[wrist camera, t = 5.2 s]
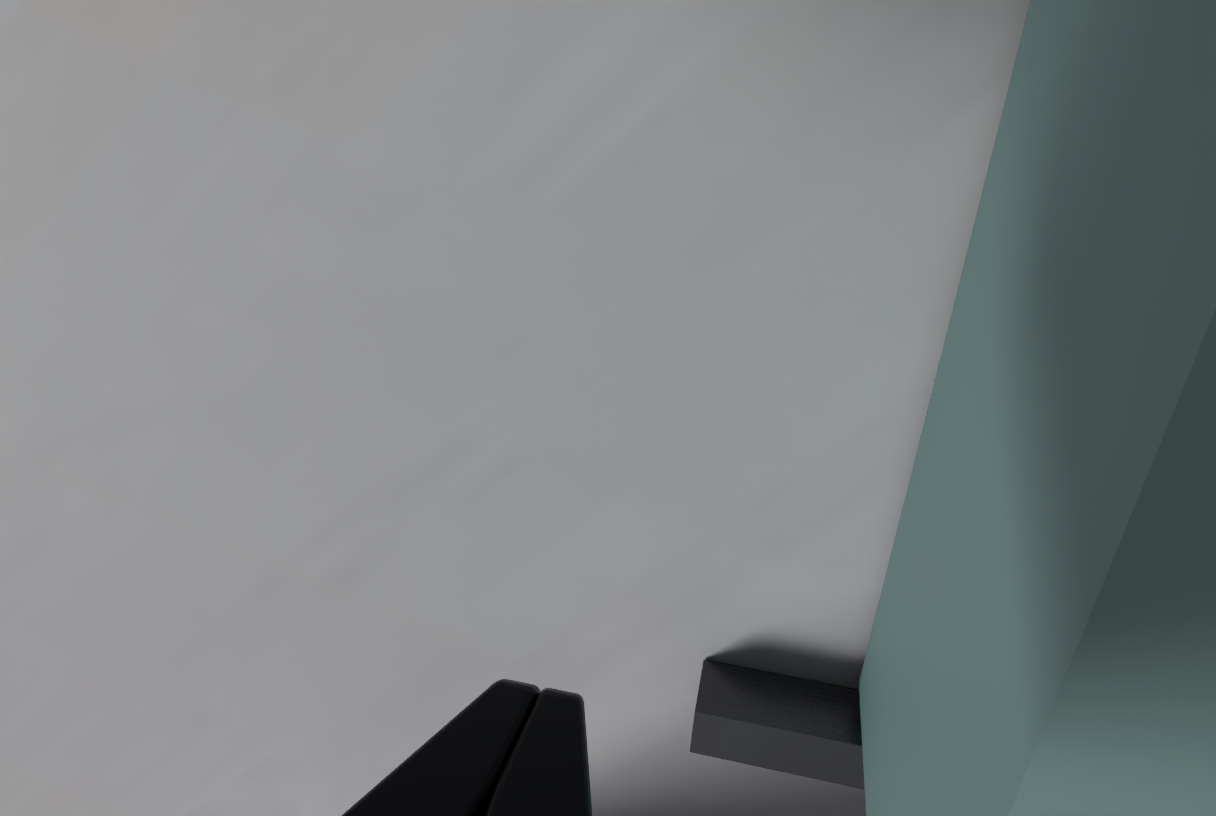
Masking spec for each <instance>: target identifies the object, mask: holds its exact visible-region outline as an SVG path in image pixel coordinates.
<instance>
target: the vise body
mask: <svg viewBox="0 0 1216 816" xmlns="http://www.w3.org/2000/svg"><path fill="white" fill-rule="evenodd" d="M690 752H693V753H698V754H702V755H707V756H712V757H716V758H721V759H726V760H730V761H735V762H740V763H744V764H749V765H753V766H758V767H763V768H767V769H772V770H777V771H781V772H786V773H791V774H795V775H800V776H805V777H809V778H814V779H819V780H823V781H828V782H833V783H837V784H842V785H846V786H851V787H856V788H860V789H865V787H864V769H863V750H862V732H861V714H860V696H859V690H855V689H850V688H845V687H840V686H835V685H830V684H825V683H820V682H814V681H809V680H804V679H799V678H794V677H789V676H784V675H779V674H773V673H768V672H763V671H758V670H753V669H748V668H743V667H737V666H732V665H727V664H722V663H717V662H712V661H707V660H704V662H703V668H702V674H701V679H700V685H699V691H698V697H697V703H696V709H695V716H694V723H693V731H692V739H691V747H690Z"/></svg>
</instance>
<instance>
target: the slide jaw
mask: <svg viewBox="0 0 1216 816" xmlns="http://www.w3.org/2000/svg"><path fill="white" fill-rule="evenodd" d="M859 696H860V714H861V732H862V750H863V769H864V787H865V805H866V816H1216V0H1031V2H1030V6H1029V10H1028V14H1027V18H1026V22H1025V25H1024V29H1023V33H1022V37H1021V41H1020V45H1019V49H1018V53H1017V57H1016V61H1015V65H1014V69H1013V73H1012V77H1011V81H1010V85H1009V89H1008V93H1007V97H1006V101H1005V105H1004V109H1003V113H1002V117H1001V121H1000V125H999V129H998V133H997V136H996V140H995V144H994V148H993V152H992V156H991V160H990V164H989V168H988V172H987V176H986V180H985V184H984V188H983V192H982V196H981V200H980V204H979V208H978V212H977V216H976V220H975V224H974V228H973V232H972V236H971V240H970V244H969V247H968V251H967V255H966V259H965V263H964V267H963V271H962V275H961V279H960V283H959V287H958V291H957V295H956V299H955V303H954V307H953V311H952V315H951V319H950V323H949V327H948V331H947V335H946V339H945V343H944V347H943V351H942V355H941V358H940V362H939V366H938V370H937V374H936V378H935V382H934V386H933V390H932V394H931V398H930V402H929V406H928V410H927V414H926V418H925V422H924V426H923V430H922V434H921V438H920V442H919V446H918V450H917V454H916V458H915V462H914V466H913V469H912V473H911V477H910V481H909V485H908V489H907V493H906V497H905V501H904V505H903V509H902V513H901V517H900V521H899V525H898V529H897V533H896V537H895V541H894V545H893V549H892V553H891V557H890V561H889V565H888V569H887V573H886V577H885V580H884V584H883V588H882V592H881V596H880V600H879V604H878V608H877V612H876V616H875V620H874V624H873V628H872V632H871V636H870V640H869V644H868V648H867V652H866V656H865V660H864V664H863V668H862V672H861V676H860V680H859Z"/></svg>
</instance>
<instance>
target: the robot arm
mask: <svg viewBox="0 0 1216 816" xmlns="http://www.w3.org/2000/svg"><path fill="white" fill-rule="evenodd" d="M342 816H592V806H591V793H590V779H589V765H588V752H587V738H586V724H585V711H584V701H583V698H582V696H580V695H579V694H576V693H571V692H567V691H562V690H557V689H552V688H545V689H543V690H542V691H540V689H539V688H538V687H537V686H535V685H532V684H527V683H523V682H518V681H513V680H508V679H502V680H499V681H497V682H495V683H494V684H492V685H491V686H490V687H489V688H488V689H487V690H486V691H484V692H483V693H482V694H481V695H480V696H479V697H478V698H476V699H475V700H474V701H473V702H472V703H471V704H469V705H468V706H467V707H466V708H465V709H464V710H463V711H461V712H460V713H459V714H458V715H457V716H456V717H455V718H453V719H452V720H451V721H450V722H449V723H448V724H447V725H445V726H444V727H443V728H442V729H441V730H440V731H438V732H437V733H436V734H435V735H434V736H433V737H432V738H430V739H429V740H428V741H427V742H426V743H425V744H424V745H422V746H421V747H420V748H419V749H418V750H417V751H415V752H414V753H413V754H412V755H411V756H410V757H409V758H407V759H406V760H405V761H404V762H403V763H402V764H401V765H399V766H398V767H397V768H396V769H395V770H394V771H392V772H391V773H390V774H389V775H388V776H387V777H386V778H384V779H383V780H382V781H381V782H380V783H379V784H378V785H376V786H375V787H374V788H373V789H372V790H371V791H369V792H368V793H367V794H366V795H365V796H364V797H363V798H361V799H360V800H359V801H358V802H357V803H356V804H355V805H353V806H352V807H351V808H350V809H349V810H348V811H346V812H345V813H344V814H343V815H342Z"/></svg>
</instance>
